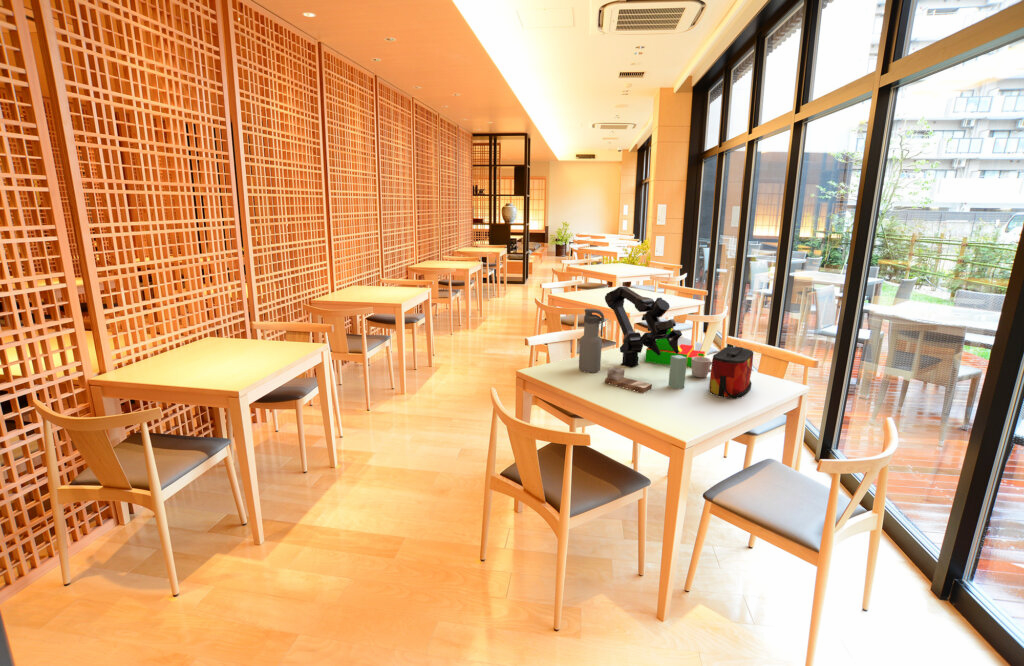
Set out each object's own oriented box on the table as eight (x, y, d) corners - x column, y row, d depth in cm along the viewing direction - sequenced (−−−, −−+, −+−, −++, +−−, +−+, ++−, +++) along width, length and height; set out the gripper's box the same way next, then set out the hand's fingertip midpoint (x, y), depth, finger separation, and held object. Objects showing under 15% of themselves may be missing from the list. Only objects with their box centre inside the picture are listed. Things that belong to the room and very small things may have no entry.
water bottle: (600, 367, 244) (604, 308, 238) (601, 373, 235) (604, 312, 228) (578, 366, 246) (581, 307, 239) (578, 372, 236) (581, 311, 230)
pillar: (668, 385, 220) (671, 355, 217) (676, 384, 222) (679, 354, 219) (675, 389, 216) (678, 358, 213) (684, 387, 218) (687, 357, 215)
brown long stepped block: (604, 382, 223) (605, 369, 221) (613, 379, 228) (614, 365, 226) (643, 393, 211) (644, 378, 209) (651, 389, 216) (652, 375, 214)
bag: (724, 376, 234) (728, 341, 230) (757, 383, 226) (762, 346, 222) (702, 394, 211) (707, 355, 207) (739, 402, 203) (744, 361, 199)
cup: (712, 374, 237) (714, 357, 235) (717, 379, 229) (719, 362, 228) (688, 373, 238) (689, 356, 236) (692, 378, 230) (693, 361, 229)
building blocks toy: (699, 370, 244) (702, 331, 240) (645, 362, 255) (648, 325, 251) (704, 360, 260) (708, 324, 256) (654, 353, 272) (656, 318, 267)
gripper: (645, 314, 220) (660, 346, 212) (681, 311, 227) (696, 342, 219) (633, 328, 228) (646, 359, 221) (667, 325, 235) (682, 355, 228)
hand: (668, 354), depth 222 cm, fingers open, 9 cm apart
